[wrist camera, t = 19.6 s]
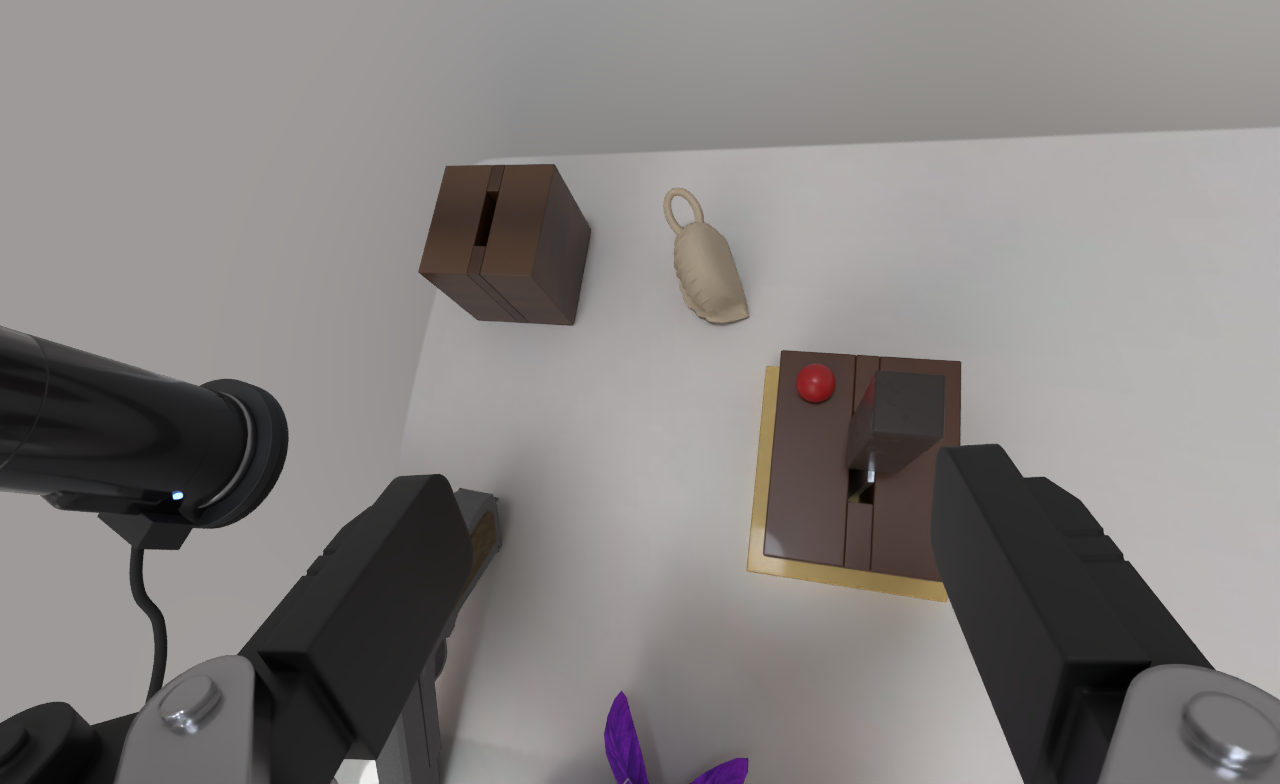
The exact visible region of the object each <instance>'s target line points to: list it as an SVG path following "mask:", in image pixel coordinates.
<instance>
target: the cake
mask: <svg viewBox="0 0 1280 784" xmlns="http://www.w3.org/2000/svg"><path fill="white" fill-rule="evenodd" d="M877 370H882V371H896V372H909V373H923V374H937V375H944V376H945V378H946V379H945V419H944V438H943V439H942V440H941V441H940V442H938V443H937V444H936V445H934V446H933V447H932V448H930V449H929V450H928V451H926V452H925V453H924V454H922V455H921V456H920V457H918V458H917V459H916V460H914V461H913V462H912V463H910V464H909V465H908V466H906V467H905V468H904V469H902V470H901V471H900V472H898V473H897V474H893V473H884V472H876V471H875V479H874V483H873V484H872V485H871V486H869V487H868V488H867V489H866V490H865V491H863V492H862V493H861V494H860V495H859V496H858V497H856V498H855V499H854V500H853V501H852V502H848V486H849V468H847V466H846V465H847V449H848V434H849V423H850V421H851V419H852V417H853V415H854V413H855V411H856V409H857V407H858V405H859V403H860V401H861V399H862V397H863V395H864V393H865V391H866V390H867V388H868V386H869V384H870V382H871V380H872V378H873V376H874V374H875V372H876V371H877ZM960 426H961V362H960V361H945V360H929V359H913V358H897V357H879V356H865V355H857V356H856V355H849V354H833V353H817V352H801V351H785V350H783V351H781V358H780V367H774V366H767V367H766V375H765V386H764V396H763V406H762V417H761V427H760V437H759V448H758V458H757V468H756V479H755V489H754V499H753V510H752V520H751V530H750V541H749V551H748V561H747V571H749V572H755V573H761V574H768V575H774V576H781V577H787V578H793V579H800V580H806V581H813V582H819V583H825V584H832V585H838V586H845V587H851V588H857V589H864V590H870V591H877V592H883V593H889V594H896V595H902V596H909V597H915V598H921V599H928V600H934V601H941V602H947V592H946V590H945V587H944V585H943V582H942V580H941V577H940V575H939V572H938V570H937V567H936V564H935V561H934V557H933V552H932V546H931V537H930V522H931V511H932V500H933V488H934V477H935V466H936V457H937V453H938V450H939V449H940V448H941V447H948V446H960Z"/></svg>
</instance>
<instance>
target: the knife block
mask: <svg viewBox="0 0 1280 784" xmlns="http://www.w3.org/2000/svg"><path fill="white" fill-rule="evenodd" d="M590 233H591V228H590V227H589V225H588V223H587V221H586V220H585V218H584V216H583V214H582V212H581V211H580V209H579V207H578V205H577V203H576V202H575V200H574V198H573V196H572V195H571V193H570V191H569V189H568V187H567V186H566V184H565V182H564V180H563V178H562V177H561V175H560V173H559V171H558V170H557V168H556V166H555V165H554V164H533V165H493V166H492V165H471V166H446V168H445V172H444V176H443V180H442V183H441V187H440V191H439V195H438V198H437V202H436V206H435V210H434V214H433V218H432V222H431V225H430V229H429V233H428V237H427V241H426V245H425V248H424V252H423V256H422V260H421V264H420V268H419V273H420V274H421V275H422V276H424V277H425V278H426V279H427V280H429V281H430V282H431V283H432V284H434V285H435V286H436V287H437V288H438V289H440V290H441V291H442V292H443V293H445V294H446V295H447V296H448V297H450V298H451V299H452V300H453V301H455V302H456V303H457V304H458V305H459V306H461V307H462V308H463V309H464V310H466V311H467V312H468V313H469V314H471V315H472V316H473V317H474V318H476V319H477V320H489V321H507V322H523V323H529V322H530V323H543V324H560V325H573V324H574V319H575V314H576V308H577V303H578V298H579V292H580V287H581V281H582V276H583V271H584V265H585V260H586V254H587V249H588V244H589V238H590Z"/></svg>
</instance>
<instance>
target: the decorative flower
mask: <svg viewBox="0 0 1280 784" xmlns="http://www.w3.org/2000/svg"><path fill="white" fill-rule="evenodd" d="M604 737H605V748H606V755H607V758H608V761H609V763H610V766H611V769H612V771H613V774H614V777H615V779H616V781H617V783H618V784H649V781H648V778H647V774H646V769H645V765H644V761H643V757H642V753H641V749H640V745H639V741H638V738H637V734H636V730H635V727H634V723H633V720H632V716H631V712H630V709H629V705H628V701H627V697H626V696H625V695H624V693H623V692H622V690H621V692H620V693H619V694H618V695H617V697H616V698H615V699H614V702H613V704H612V707H611V709H610V712H609V714H608V717H607V722H606V727H605V733H604ZM747 773H748V758H735V759H733V760H730V761H728V762H725V763H723V764H720V765H718V766H716V767H715V768H713V769H711V770H709V771H707V772H705V773H703V774H702V775H701V776H699V777H698V778H697V779H695V780H694V781H693V782H691V783H690V784H743V783H744V781H745V778H746V775H747Z"/></svg>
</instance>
